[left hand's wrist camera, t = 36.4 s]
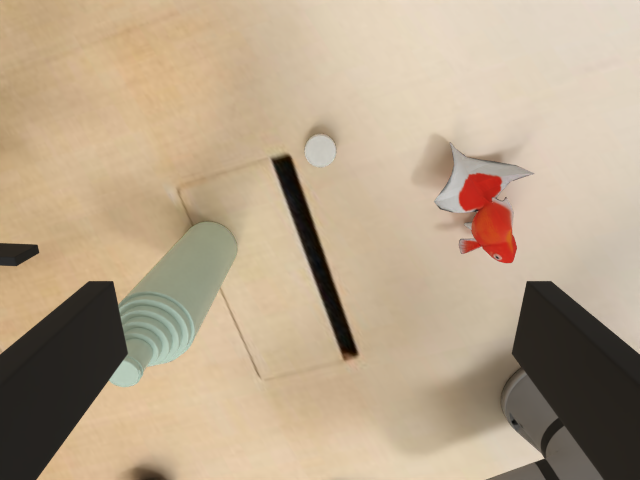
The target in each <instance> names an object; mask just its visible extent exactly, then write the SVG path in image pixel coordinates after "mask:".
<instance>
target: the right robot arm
mask: <svg viewBox="0 0 640 480" xmlns="http://www.w3.org/2000/svg"><path fill="white" fill-rule="evenodd" d="M38 253H39V250H38V245H32V244H6V243H0V265H3V266H17V265H19V264H21V263H23V262H24V261H26V260H28V259H29V258H31V257H33V256H35V255H36V254H38Z"/></svg>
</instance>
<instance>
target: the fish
mask: <svg viewBox="0 0 640 480" xmlns="http://www.w3.org/2000/svg"><path fill="white" fill-rule="evenodd" d="M450 146H451V148H452V153H453V160H454V167H453V171H452V175H451V176H450V178H449V180H448V182H447V184H446V186H445V187H444V189H443V190H442V191H441V193H440V194H439V195H438V197H437V198H436V199H435V201H434V202H435V204H436V205H437V206H438V207H439V208H440V209H442V210H446V211H449V212H456V213H466V212H476V213H477V214H476V215H475V217H474V219H473V221H472V222H469V223H464V225H465V226H466V227H467V228H469V229H471V231H472V234H473V236H474V238H475V239H460V241H459V248H460V251H461V254H464V253H467V252H470V251H472V250H474V249H477V248H479V247H483V249H484V250H485V251H486V252H487V253H488V254H489V255H490V256H491V257H493V258H494V259H495V260H497V261H499V262H503V263H512V262H513V260H514V257H515V253H516V250H517V246H516V242H515V239H514V236H513V235H512V223H513V214H514V212H513V209H512V206H511V204H510V202H509V201H508V199H507V198H506V197H505V199H504V200H503V201H501V200H498V199H496V198H497V197H498V195H499V194H500V192H501V191H502V190H503V189H504V188H505V187H506V186H507V185H508V184H509V183H510V182H511V181H514V180H516V179H519V178H522V177H525V176H529V175H532V174H534V173H532V172H530V171H528V170H525V169H523V168H521V167H519V166H516V165H511V164H505V163H499V162H494V161H486V160H479V159H474V158H469V157H466V156H465V155H463V154H462V153H461V152H459V151H458V150H457V149H455V147H454V146H453V145H452V143H451V142H450ZM492 202H493V203H492Z"/></svg>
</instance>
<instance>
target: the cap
mask: <svg viewBox="0 0 640 480" xmlns="http://www.w3.org/2000/svg"><path fill="white" fill-rule="evenodd" d="M335 146H336V145H335V144H334V141H333V140H332V139H331V138H330V136H327V135H325V134H321V133H320V134H316V135H313V136H312V137H311V138H310V139H308V141H307V142H306V145H305V149H304V150H305V157H306V159H307V160H308V162H309V163H310V164H312V165H313V166H316V167H325V166H328V165H329V164H331V163H332V162H333V160H334V158H335V156H336V147H335Z"/></svg>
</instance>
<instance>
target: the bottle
mask: <svg viewBox="0 0 640 480" xmlns="http://www.w3.org/2000/svg"><path fill="white" fill-rule="evenodd" d="M236 254H237V243H236V240H235V238H234V236H233V234H232V233H231V232H230V231H229V230H228V229H227V228H226V227H224V226H223V225H221V224H218V223H215V222H201V223H198V224H196V225H194V226H192V227H191V228H190V229H189V230H188V231H187V232H186V233H185V234H184V235H183V236H182V238H181V239H180V240H179V241H178V242H177V243H176V244H175V245H174V246H173V247H172V248H171V249H170V250H169V251H168V252H167V253H166V255H165V256H164V257H163V258H162V259H161V260H160V261H159V262H158V263H157V264H156V265H155V266H154V267H153V268H152V269H151V270H150V272H149V273H148V274H147V275H146V276H145V277H144V278H143V279H142V280H141V281H140V282H139V283H138V284H137V285H136V286H135V287H134V288H133V290H132V291H131V292H130V293H129V294H128V295H127V296H126V297H125V298H124V299H123V300H122V301H121V302H120V303H119V305H118V307H119V312H120V317H121V321H122V326H123V331H124V336H125V341H126V345H127V350H128V355H127V356H126V357H125V359H124V360H123V361H122V363H121V364H120V366H119V367H118V368H117V370H116V371H115V372H114V374H113V375H112V376H111V378H110V379H109V381H110V382H111V383H113V384H114V385H116V386H120V387H129V386H133V385H135V384H137V383H138V382H139V380H140V378H141V377H142V375H143V372H144V370H145V369H146V367H148V366H154V365H158V364H163V363H167V362H170V361H173V360H175V359H176V358H178V357H179V356H180V355H182V354H183V353H184V352H186V351H187V350H188V348H189V347H190V346H191V344H192V342H193V340H194V338H195V336H196V334H197V332H198V330H199V329H200V327H201V325H202V323H203V321H204V319H205V317H206V315H207V313H208V311H209V309H210V307H211V305H212V303H213V301H214V299H215V297H216V295H217V293H218V291H219V289H220V287H221V285H222V283H223V281H224V279H225V277H226V275H227V273H228V271H229V269H230V267H231V265H232V263H233V261H234V259H235V257H236Z"/></svg>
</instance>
